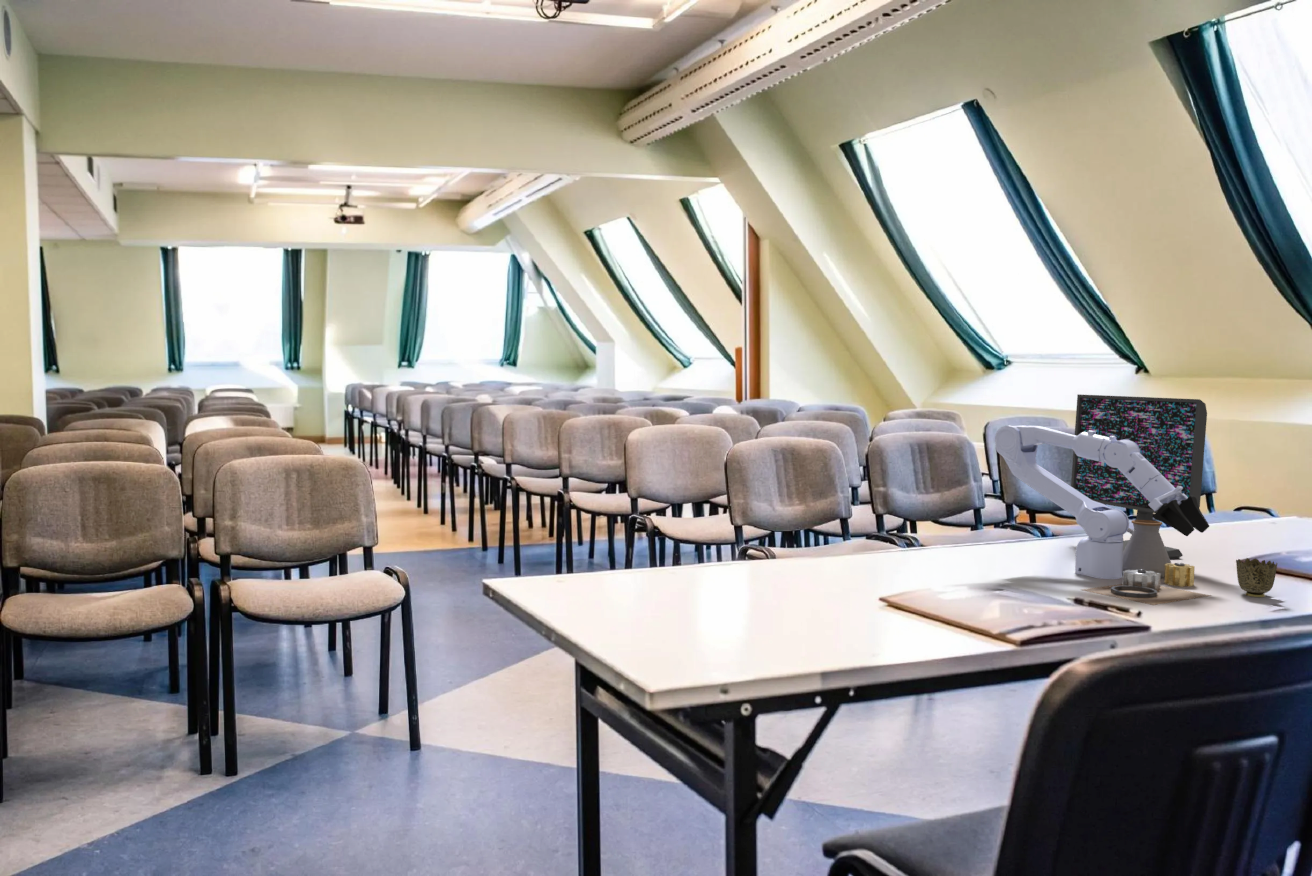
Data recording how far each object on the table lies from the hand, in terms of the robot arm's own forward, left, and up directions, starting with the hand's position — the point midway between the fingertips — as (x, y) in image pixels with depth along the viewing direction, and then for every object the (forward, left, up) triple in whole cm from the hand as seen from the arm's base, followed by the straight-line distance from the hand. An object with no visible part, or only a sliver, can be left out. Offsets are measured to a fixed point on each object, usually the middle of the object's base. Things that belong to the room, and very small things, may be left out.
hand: (1198, 531), depth 236 cm
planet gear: (-5, +2, -13) cm, 14 cm away
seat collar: (-3, -16, -12) cm, 20 cm away
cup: (+10, +5, -13) cm, 17 cm away
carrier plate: (-3, -13, -13) cm, 19 cm away
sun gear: (-7, -8, -12) cm, 16 cm away
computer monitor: (-39, +33, -13) cm, 53 cm away
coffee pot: (-21, +6, -13) cm, 26 cm away
